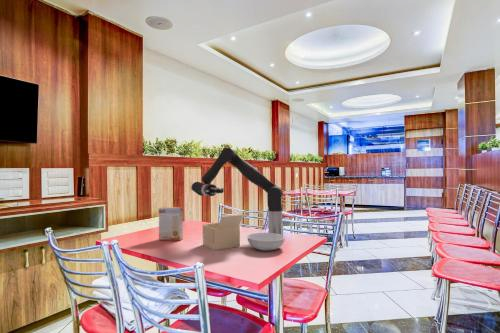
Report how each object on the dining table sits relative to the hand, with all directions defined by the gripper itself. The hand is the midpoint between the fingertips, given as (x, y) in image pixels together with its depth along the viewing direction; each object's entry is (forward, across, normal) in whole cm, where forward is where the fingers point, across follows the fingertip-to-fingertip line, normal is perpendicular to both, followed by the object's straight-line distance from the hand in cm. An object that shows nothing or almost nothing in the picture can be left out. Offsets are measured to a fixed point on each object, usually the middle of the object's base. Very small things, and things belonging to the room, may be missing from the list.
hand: (221, 191), depth 169 cm
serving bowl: (+22, +16, +32) cm, 42 cm away
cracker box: (-30, -21, +32) cm, 48 cm away
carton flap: (+13, -2, +16) cm, 20 cm away
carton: (+2, -1, +32) cm, 32 cm away
